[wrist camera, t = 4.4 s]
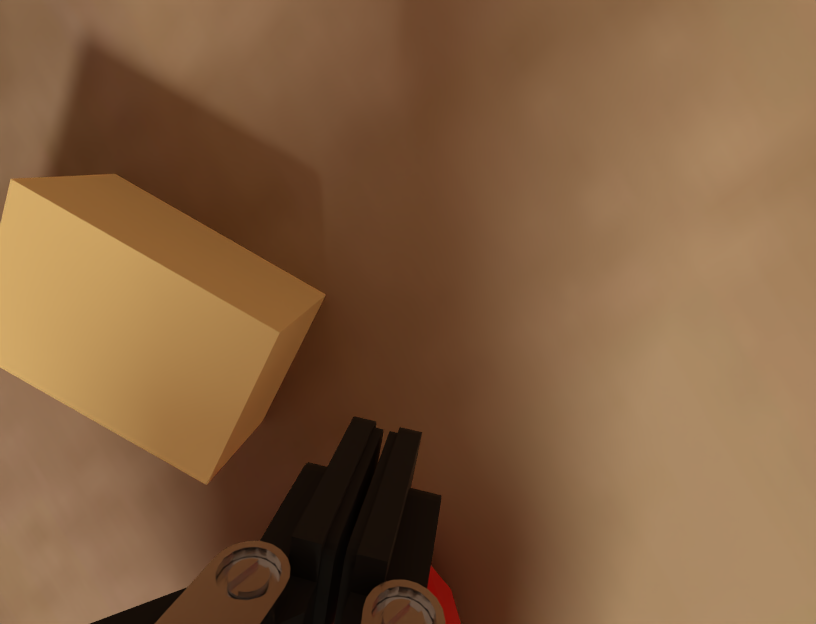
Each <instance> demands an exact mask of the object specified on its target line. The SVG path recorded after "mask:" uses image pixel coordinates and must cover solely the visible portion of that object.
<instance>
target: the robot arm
mask: <svg viewBox="0 0 816 624" xmlns="http://www.w3.org/2000/svg"><path fill="white" fill-rule="evenodd" d="M421 435H422V432H418V431H414V430H409V429H405V428H401V427H400V428H399V431H398V433H396V432H391V431H390V432H389V435H388V437H387V440H386V443H385V445H384V448H383V451H382V454H381V456H380V459H379V454H380V448H381V442H382V437H383V429H379V428H376V421H372V420H367V419H363V418H359V417H353V419H352V421H351V423H350V425H349V427H348V429H347V430H346V432H345V434H344V436H343V438H342V440H341V442H340V444H339V446H338V448H337V450H336V452H335V454H334V455H333V457H332V459H331V461H330V463H329V465H328V467H325V466H321V465H317V464H313V463H309V462H308V463H307V464H306V465H305V466H304V468H303V469H302V471H301V473H300V474H299V476H298V478H297V479H296V481H295V483H294V484H293V486H292V488H291V489H290V491H289V493H288V495H287V496H286V498H285V500H284V501H283V503H282V505H281V506H280V508H279V510H278V511H277V513H276V515H275V516H274V518H273V520H272V522H271V523H270V525H269V527H268V528H267V530H266V532H265V533H264V535H263V537H262V538H261V540H260V541H245V542H241V543H236V544H234V545H232V546H230V547H228V548H226V549H224V550H223V551H222V552H220V553H219V554H218V555H217V556H216V557H215V558H214V559H213V560H212V561H211V562H210V563H209V564H208V565H207V566H206V567H205V569H204V570H203V571H202V572H201V573H200V574H199V575H198V576H197V577H196V579H195V580H194V581H193V582H192V583H191V584H190V585H189V586H188V587H187V588H184V589H182V590H179V591H176V592H174V593H171V594H168V595H166V596H163V597H160V598H158V599H155V600H152V601H150V602H147V603H144V604H141V605H139V606H136V607H133V608H131V609H128V610H125V611H123V612H120V613H117V614H115V615H112V616H109V617H107V618H104V619H101V620H99V621H96V622H93V623H90V624H446V623H445V617H444V612H443V608H442V606H441V605H440V603H439V601H438V599H437V598H436V597H435V596H434V595H433V594H432V593H431V592H430V591H429V590H428V589H427V587H428V580H429V574H430V567H431V561H432V555H433V548H434V542H435V535H436V529H437V523H438V516H439V510H440V503H441V495H437V494H433V493H429V492H425V491H421V490H417V489H413V488H411V484H412V479H413V474H414V469H415V464H416V459H417V455H418V450H419V445H420V440H421ZM378 460H379V462H378Z"/></svg>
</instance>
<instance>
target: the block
mask: <svg viewBox="0 0 816 624" xmlns="http://www.w3.org/2000/svg"><path fill="white" fill-rule="evenodd" d="M325 296H326V294H324V293H322V292H321V291H319V290H317V289H315V288H314V287H312V286H310V285H308V284H307V283H305V282H303V281H301V280H300V279H298V278H296V277H294V276H293V275H291V274H289V273H287V272H286V271H284V270H282V269H280V268H279V267H277V266H275V265H273V264H272V263H270V262H268V261H266V260H265V259H263V258H261V257H259V256H258V255H256V254H254V253H252V252H251V251H249V250H247V249H246V248H244V247H242V246H240V245H239V244H237V243H235V242H233V241H232V240H230V239H228V238H226V237H225V236H223V235H221V234H219V233H218V232H216V231H214V230H212V229H211V228H209V227H207V226H205V225H204V224H202V223H200V222H198V221H197V220H195V219H193V218H191V217H190V216H188V215H186V214H184V213H183V212H181V211H179V210H177V209H176V208H174V207H172V206H171V205H169V204H167V203H165V202H164V201H162V200H160V199H158V198H157V197H155V196H153V195H151V194H150V193H148V192H146V191H144V190H143V189H141V188H139V187H137V186H136V185H134V184H132V183H130V182H129V181H127V180H125V179H123V178H122V177H120V176H118V175H116V174H100V175H79V176H59V177H38V178H18V179H11V180H10V185H9V189H8V193H7V198H6V202H5V206H4V211H3V215H2V219H1V223H0V368H2V369H4V370H6V371H7V372H9V373H11V374H13V375H14V376H16V377H18V378H20V379H22V380H23V381H25V382H27V383H29V384H30V385H32V386H34V387H36V388H37V389H39V390H41V391H43V392H44V393H46V394H48V395H50V396H51V397H53V398H55V399H57V400H58V401H60V402H62V403H64V404H65V405H67V406H69V407H71V408H72V409H74V410H76V411H78V412H79V413H81V414H83V415H85V416H86V417H88V418H90V419H92V420H93V421H95V422H97V423H99V424H100V425H102V426H104V427H106V428H107V429H109V430H111V431H113V432H114V433H116V434H118V435H120V436H121V437H123V438H125V439H127V440H128V441H130V442H132V443H134V444H135V445H137V446H139V447H141V448H142V449H144V450H146V451H148V452H149V453H151V454H153V455H155V456H156V457H158V458H160V459H162V460H163V461H165V462H167V463H169V464H170V465H172V466H174V467H176V468H177V469H179V470H181V471H183V472H184V473H186V474H188V475H190V476H191V477H193V478H195V479H197V480H199V481H200V482H202V483H204V484H206V485H207V484H208V483H209V482H210V481H211V480H212V478H213V477H214V476H215V475H216V474H217V473H218V472H219V470H220V469H221V468H222V467H223V466H224V465H225V464H226V462H227V461H228V460H229V459H230V458H231V457H232V456H233V454H234V453H235V452H236V451H237V450H238V449H239V448H240V446H241V445H242V444H243V443H244V442H245V441H246V440H247V438H248V437H249V436H250V435H251V434H252V433H253V432H254V431H255V429H256V428H257V427H258V426H259V425H260V424H261V423H262V421H263V419H264V417H265V415H266V413H267V411H268V409H269V407H270V405H271V403H272V401H273V399H274V397H275V395H276V393H277V391H278V389H279V387H280V385H281V383H282V381H283V379H284V377H285V375H286V373H287V371H288V370H289V368H290V366H291V364H292V362H293V360H294V358H295V356H296V354H297V352H298V350H299V348H300V346H301V344H302V342H303V340H304V338H305V336H306V334H307V332H308V330H309V328H310V326H311V324H312V322H313V320H314V318H315V316H316V314H317V312H318V310H319V308H320V306H321V304H322V302H323V300H324V298H325Z"/></svg>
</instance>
